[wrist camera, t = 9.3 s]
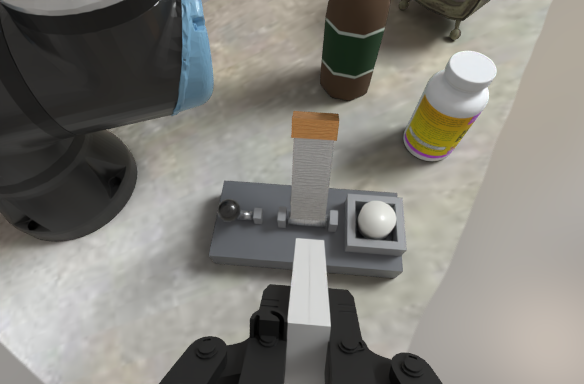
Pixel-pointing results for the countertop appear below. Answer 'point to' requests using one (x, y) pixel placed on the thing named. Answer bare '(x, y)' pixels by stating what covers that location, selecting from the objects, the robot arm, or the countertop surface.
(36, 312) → the countertop surface
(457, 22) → the tabletop clock
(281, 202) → the switch panel
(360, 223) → the push button
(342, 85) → the beer bottle
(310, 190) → the paddle lever
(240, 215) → the toggle switch
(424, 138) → the supplement bottle
